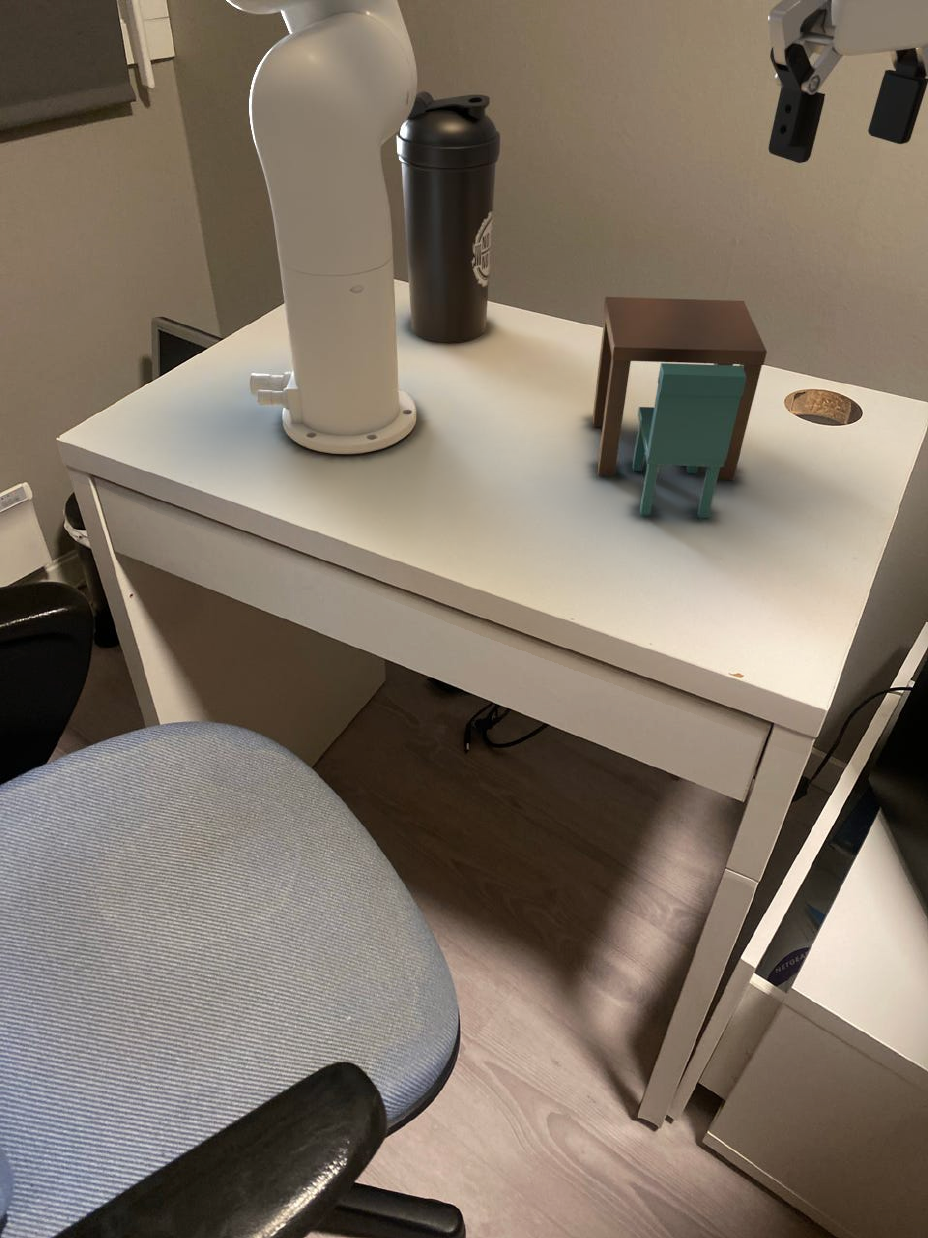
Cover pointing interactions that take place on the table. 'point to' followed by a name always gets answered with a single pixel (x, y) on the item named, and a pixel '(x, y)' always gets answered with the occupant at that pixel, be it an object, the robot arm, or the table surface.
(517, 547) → the table surface
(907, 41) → the robot arm
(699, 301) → the side table
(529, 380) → the table surface
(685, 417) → the chair
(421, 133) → the water bottle
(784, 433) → the table surface
